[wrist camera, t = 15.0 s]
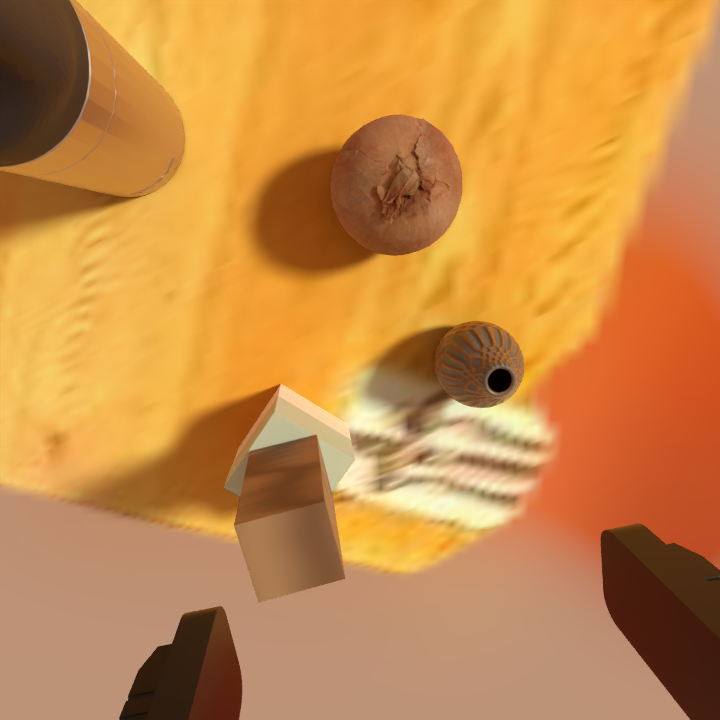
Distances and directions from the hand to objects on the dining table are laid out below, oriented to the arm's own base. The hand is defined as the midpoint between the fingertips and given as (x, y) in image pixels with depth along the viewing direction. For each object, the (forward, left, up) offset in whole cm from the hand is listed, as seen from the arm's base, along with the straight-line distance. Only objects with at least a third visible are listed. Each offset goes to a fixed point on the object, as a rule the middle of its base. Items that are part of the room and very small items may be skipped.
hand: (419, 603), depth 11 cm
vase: (+9, +7, -34) cm, 36 cm away
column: (+5, -9, -26) cm, 28 cm away
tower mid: (+5, -9, -30) cm, 32 cm away
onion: (-6, +10, -34) cm, 36 cm away
